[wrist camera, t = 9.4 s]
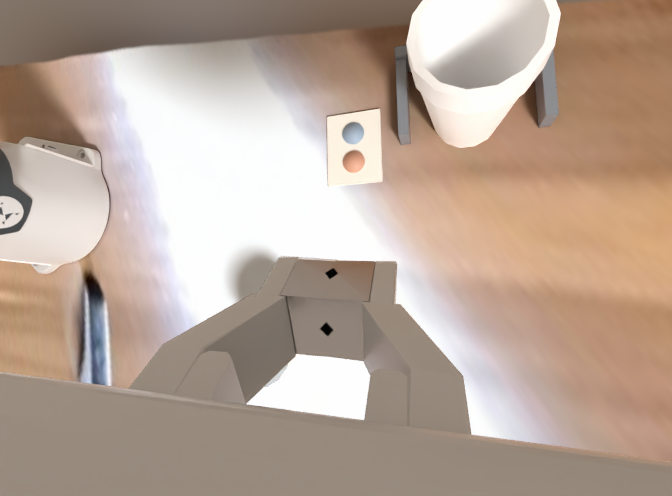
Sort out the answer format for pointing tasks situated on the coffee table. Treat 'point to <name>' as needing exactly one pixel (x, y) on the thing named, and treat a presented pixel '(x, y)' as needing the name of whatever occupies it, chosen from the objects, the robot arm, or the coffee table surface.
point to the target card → (354, 148)
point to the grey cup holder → (543, 86)
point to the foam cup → (477, 60)
